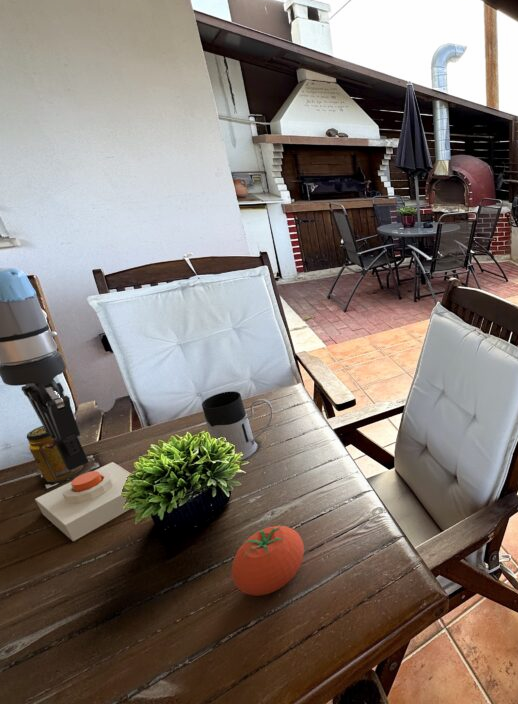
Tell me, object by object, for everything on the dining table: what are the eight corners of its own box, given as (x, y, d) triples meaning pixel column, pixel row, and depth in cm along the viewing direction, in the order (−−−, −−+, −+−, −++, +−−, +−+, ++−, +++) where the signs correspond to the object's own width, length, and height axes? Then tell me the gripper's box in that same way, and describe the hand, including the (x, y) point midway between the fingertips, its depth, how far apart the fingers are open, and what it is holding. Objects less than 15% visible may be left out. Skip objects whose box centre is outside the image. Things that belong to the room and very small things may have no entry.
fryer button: (70, 488, 79) (67, 481, 79) (97, 475, 83) (93, 468, 82) (79, 494, 78) (76, 487, 77) (106, 481, 81) (103, 474, 80)
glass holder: (223, 444, 101) (207, 392, 95) (285, 435, 104) (273, 385, 99) (208, 467, 93) (190, 412, 88) (276, 456, 96) (263, 403, 91)
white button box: (43, 515, 80) (30, 491, 78) (119, 476, 90) (109, 455, 88) (73, 542, 74) (60, 517, 72) (151, 497, 84) (142, 475, 82)
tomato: (321, 563, 70) (312, 520, 67) (269, 620, 61) (254, 574, 58) (280, 544, 74) (268, 502, 70) (224, 595, 65) (208, 551, 61)
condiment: (40, 475, 90) (17, 431, 86) (92, 455, 97) (73, 413, 93) (47, 489, 86) (23, 444, 82) (100, 467, 93) (80, 424, 89)
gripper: (73, 356, 71) (118, 463, 79) (43, 342, 76) (88, 444, 84) (9, 373, 64) (65, 488, 72) (-18, 357, 70) (36, 466, 78)
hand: (77, 464), depth 78 cm, fingers closed
